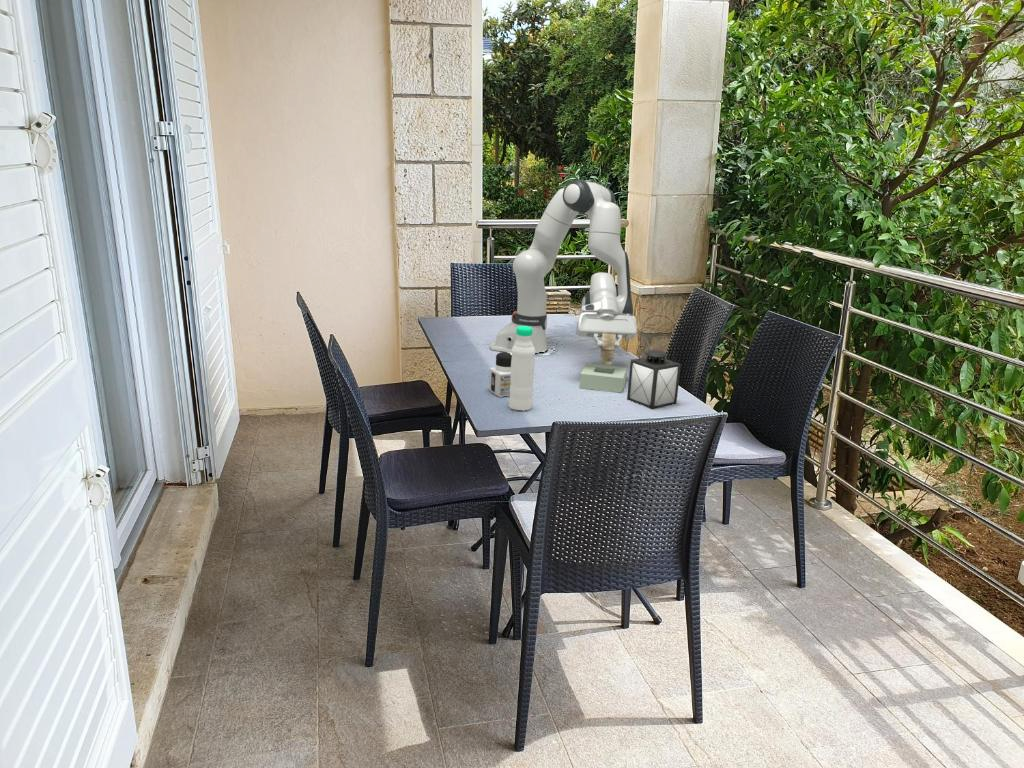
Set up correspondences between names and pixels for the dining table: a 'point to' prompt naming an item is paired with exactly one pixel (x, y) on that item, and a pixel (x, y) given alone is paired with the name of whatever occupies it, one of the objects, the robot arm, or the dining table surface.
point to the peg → (607, 348)
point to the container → (501, 375)
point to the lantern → (653, 379)
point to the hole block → (603, 377)
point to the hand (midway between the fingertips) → (608, 347)
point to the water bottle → (522, 370)
